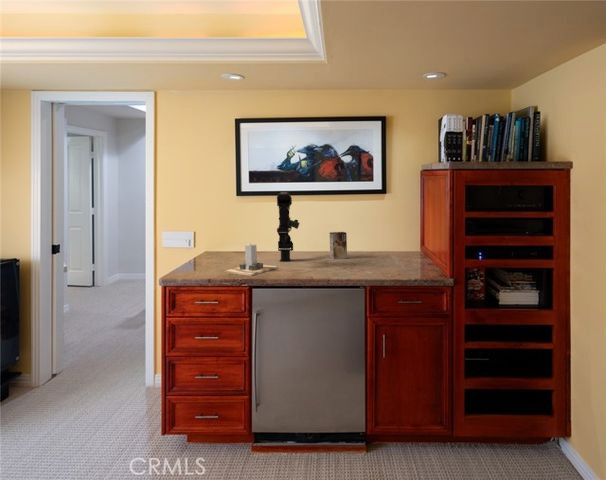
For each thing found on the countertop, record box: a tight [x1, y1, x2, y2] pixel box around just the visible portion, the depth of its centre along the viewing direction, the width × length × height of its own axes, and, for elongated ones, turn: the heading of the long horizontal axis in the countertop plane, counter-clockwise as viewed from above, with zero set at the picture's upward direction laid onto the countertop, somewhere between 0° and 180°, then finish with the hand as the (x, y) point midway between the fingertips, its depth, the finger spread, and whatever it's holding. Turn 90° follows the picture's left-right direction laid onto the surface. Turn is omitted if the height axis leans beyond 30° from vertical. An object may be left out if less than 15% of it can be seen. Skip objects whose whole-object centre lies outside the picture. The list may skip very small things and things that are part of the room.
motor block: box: [244, 243, 258, 270], centre depth 259 cm, size 6×4×14 cm
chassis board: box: [223, 262, 279, 277], centre depth 261 cm, size 24×18×4 cm
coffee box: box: [329, 231, 348, 260], centre depth 293 cm, size 9×6×16 cm
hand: (284, 243), depth 271 cm, fingers open, 9 cm apart
